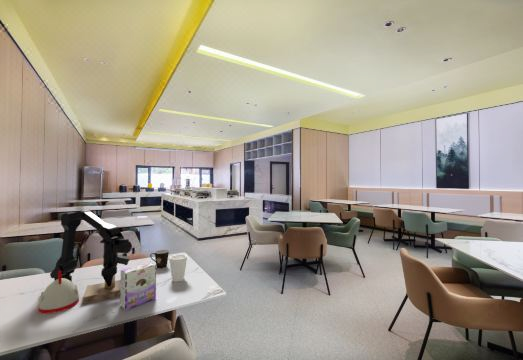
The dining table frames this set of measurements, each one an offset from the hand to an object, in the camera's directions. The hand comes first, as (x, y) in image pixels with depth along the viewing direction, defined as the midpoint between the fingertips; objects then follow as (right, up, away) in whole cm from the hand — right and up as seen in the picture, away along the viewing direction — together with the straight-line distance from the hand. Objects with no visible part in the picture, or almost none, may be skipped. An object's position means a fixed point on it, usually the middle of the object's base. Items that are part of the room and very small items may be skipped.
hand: (109, 282), depth 120 cm
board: (-2, -5, -1) cm, 5 cm away
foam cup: (+29, -5, +17) cm, 33 cm away
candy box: (+19, -5, -10) cm, 22 cm away
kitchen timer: (-15, -5, -12) cm, 20 cm away
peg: (0, -5, 0) cm, 5 cm away
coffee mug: (+9, -6, +38) cm, 39 cm away
